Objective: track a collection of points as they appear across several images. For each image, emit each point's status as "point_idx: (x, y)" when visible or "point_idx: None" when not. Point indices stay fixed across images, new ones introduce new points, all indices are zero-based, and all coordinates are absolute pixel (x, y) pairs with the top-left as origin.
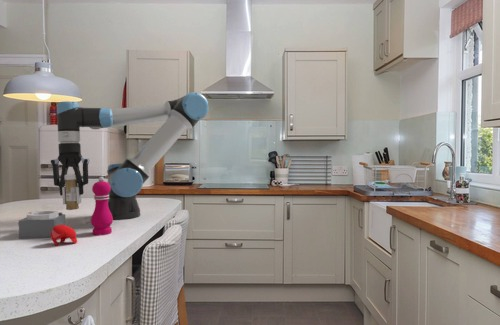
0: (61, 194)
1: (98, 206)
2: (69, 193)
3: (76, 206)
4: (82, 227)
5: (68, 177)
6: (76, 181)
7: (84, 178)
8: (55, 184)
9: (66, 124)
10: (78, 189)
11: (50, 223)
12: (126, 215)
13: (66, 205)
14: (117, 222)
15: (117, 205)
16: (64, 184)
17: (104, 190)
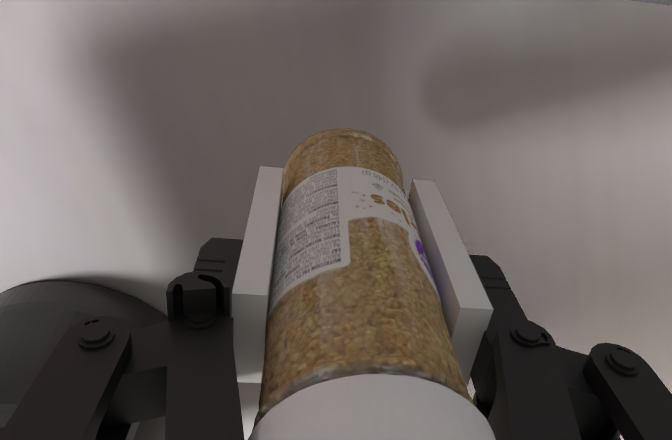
0: (479, 262)
1: None
2: (365, 216)
3: (293, 164)
4: (251, 60)
5: (405, 420)
6: (261, 397)
7: (55, 416)
8: (621, 352)
9: None
10: (237, 268)
11: None
12: (4, 302)
13: (397, 174)
14: (37, 189)
15: (38, 371)
16: (477, 406)
17: None
